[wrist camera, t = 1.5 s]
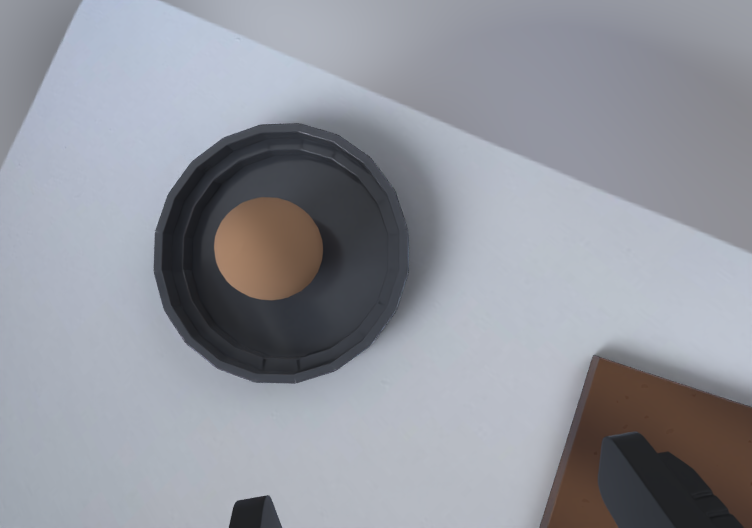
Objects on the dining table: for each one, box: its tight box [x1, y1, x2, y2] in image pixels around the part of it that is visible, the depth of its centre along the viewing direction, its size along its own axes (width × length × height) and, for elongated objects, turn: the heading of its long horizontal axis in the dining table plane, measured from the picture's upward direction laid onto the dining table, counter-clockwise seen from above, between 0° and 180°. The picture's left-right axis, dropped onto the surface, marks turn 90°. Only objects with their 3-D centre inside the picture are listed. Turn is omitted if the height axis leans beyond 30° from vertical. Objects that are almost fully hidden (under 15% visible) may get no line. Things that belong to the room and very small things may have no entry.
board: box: [540, 355, 752, 528], centre depth 28 cm, size 14×20×1 cm
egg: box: [214, 197, 323, 300], centre depth 28 cm, size 6×6×8 cm
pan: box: [154, 123, 409, 384], centre depth 31 cm, size 17×17×3 cm
